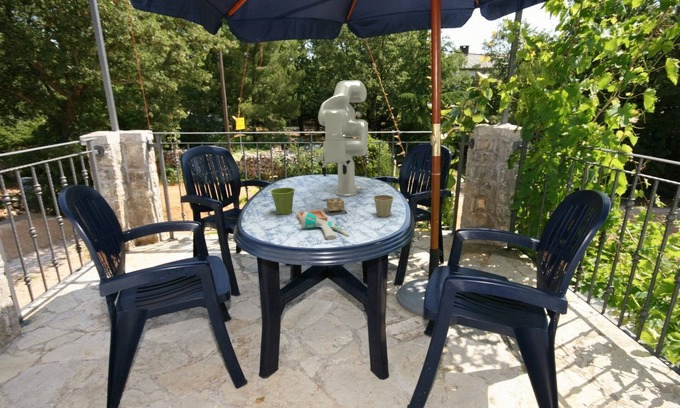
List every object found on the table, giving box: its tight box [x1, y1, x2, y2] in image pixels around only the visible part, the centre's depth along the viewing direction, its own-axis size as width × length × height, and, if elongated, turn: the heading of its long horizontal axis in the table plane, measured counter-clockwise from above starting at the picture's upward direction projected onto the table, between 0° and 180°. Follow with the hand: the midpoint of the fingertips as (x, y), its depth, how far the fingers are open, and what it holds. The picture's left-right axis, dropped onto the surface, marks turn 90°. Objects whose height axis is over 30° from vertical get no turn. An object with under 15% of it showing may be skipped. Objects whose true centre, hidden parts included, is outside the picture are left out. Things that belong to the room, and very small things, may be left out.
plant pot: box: [270, 187, 296, 216], centre depth 168 cm, size 12×12×11 cm
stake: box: [323, 197, 348, 216], centre depth 169 cm, size 9×9×6 cm
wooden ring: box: [325, 197, 345, 211], centre depth 168 cm, size 7×7×4 cm
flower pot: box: [373, 194, 395, 218], centre depth 162 cm, size 9×9×9 cm
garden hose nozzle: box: [300, 211, 350, 241], centre depth 145 cm, size 7×18×20 cm
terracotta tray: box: [296, 209, 328, 223], centre depth 159 cm, size 12×12×2 cm
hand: (334, 174), depth 164 cm, fingers open, 9 cm apart
